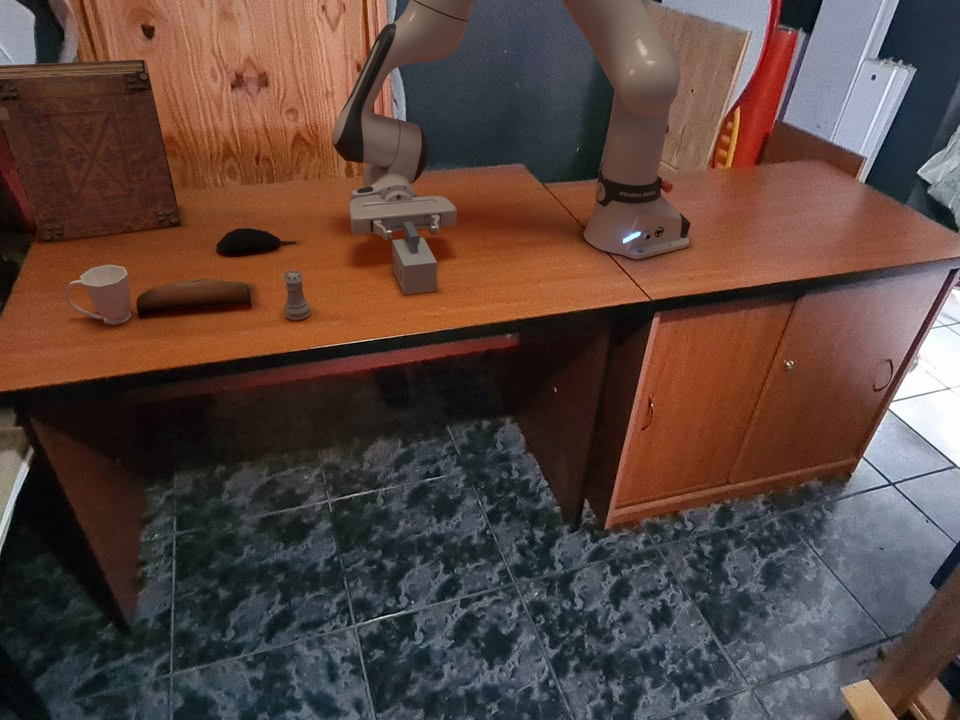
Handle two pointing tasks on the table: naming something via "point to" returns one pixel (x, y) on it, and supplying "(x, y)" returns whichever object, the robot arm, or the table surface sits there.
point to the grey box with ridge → (414, 262)
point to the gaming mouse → (248, 242)
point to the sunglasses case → (194, 295)
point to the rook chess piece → (295, 297)
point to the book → (88, 147)
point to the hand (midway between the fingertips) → (412, 233)
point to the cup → (105, 293)
